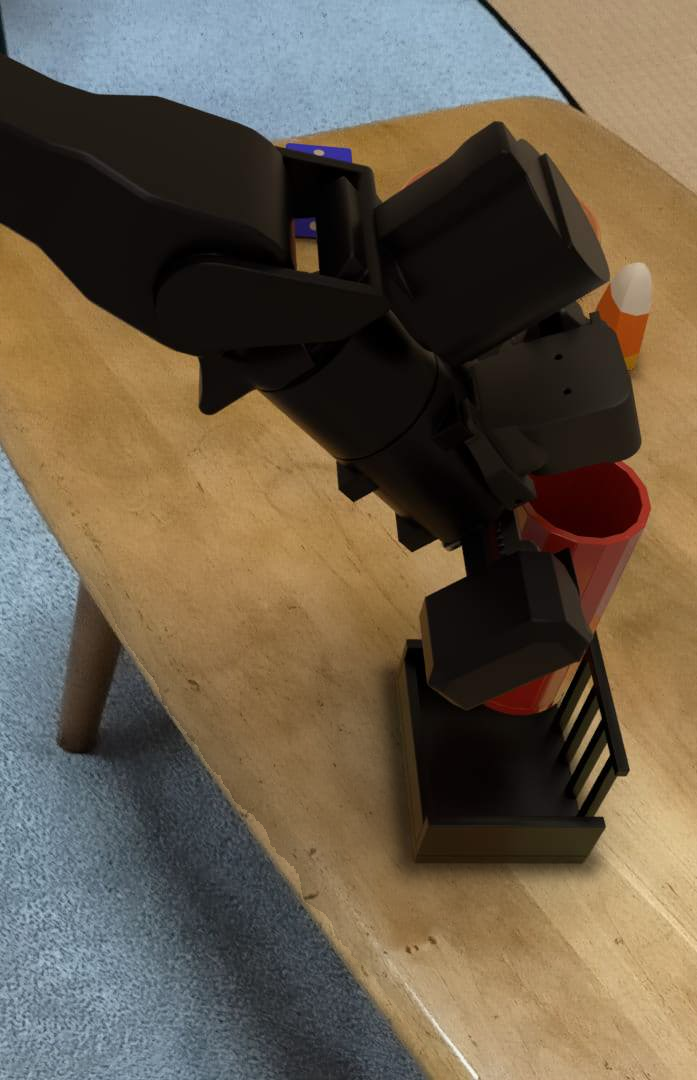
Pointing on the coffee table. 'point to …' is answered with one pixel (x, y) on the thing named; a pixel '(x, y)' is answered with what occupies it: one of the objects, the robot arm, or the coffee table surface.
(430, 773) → the rack
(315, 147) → the die
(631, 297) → the candy corn
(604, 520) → the cup
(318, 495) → the coffee table surface
